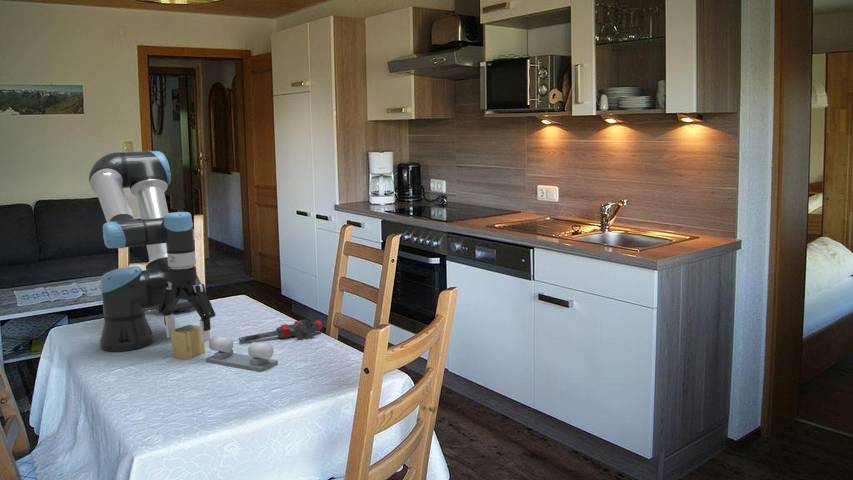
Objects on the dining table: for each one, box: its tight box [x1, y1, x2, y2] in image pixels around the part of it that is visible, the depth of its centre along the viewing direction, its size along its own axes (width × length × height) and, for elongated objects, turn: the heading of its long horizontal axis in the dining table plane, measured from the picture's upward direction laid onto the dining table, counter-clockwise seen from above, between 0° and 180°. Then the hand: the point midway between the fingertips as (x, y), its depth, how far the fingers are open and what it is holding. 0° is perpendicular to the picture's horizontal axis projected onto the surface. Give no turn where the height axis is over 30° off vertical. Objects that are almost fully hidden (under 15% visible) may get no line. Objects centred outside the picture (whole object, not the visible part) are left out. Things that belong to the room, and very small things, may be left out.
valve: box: [238, 319, 323, 343], centre depth 231 cm, size 6×26×15 cm
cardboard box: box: [171, 324, 206, 361], centre depth 214 cm, size 7×6×8 cm
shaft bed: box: [205, 335, 279, 373], centre depth 206 cm, size 20×7×6 cm, turn 62°
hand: (188, 339), depth 213 cm, fingers open, 13 cm apart
